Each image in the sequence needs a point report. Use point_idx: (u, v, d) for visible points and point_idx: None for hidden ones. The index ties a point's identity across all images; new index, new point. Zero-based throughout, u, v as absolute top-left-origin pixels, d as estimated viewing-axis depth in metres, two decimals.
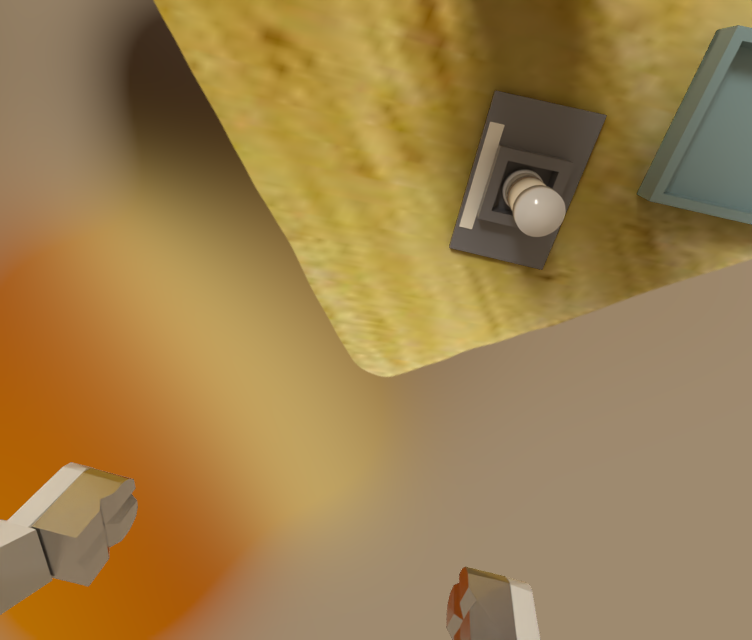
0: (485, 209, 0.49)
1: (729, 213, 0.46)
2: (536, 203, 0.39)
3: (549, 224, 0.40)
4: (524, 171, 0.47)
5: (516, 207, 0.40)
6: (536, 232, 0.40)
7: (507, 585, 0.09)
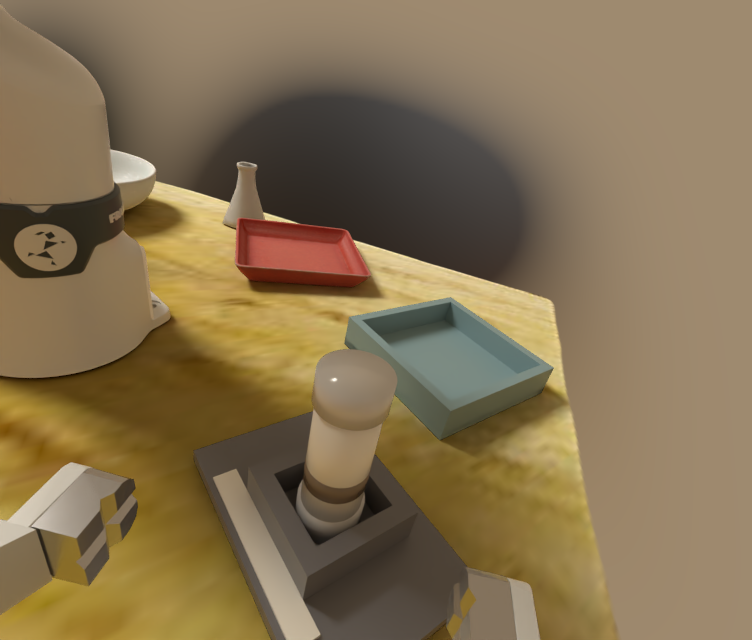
0: (305, 552, 0.24)
1: (505, 382, 0.42)
2: (339, 367, 0.23)
3: (382, 376, 0.23)
4: None
5: (320, 385, 0.22)
6: (380, 391, 0.22)
7: (507, 584, 0.09)
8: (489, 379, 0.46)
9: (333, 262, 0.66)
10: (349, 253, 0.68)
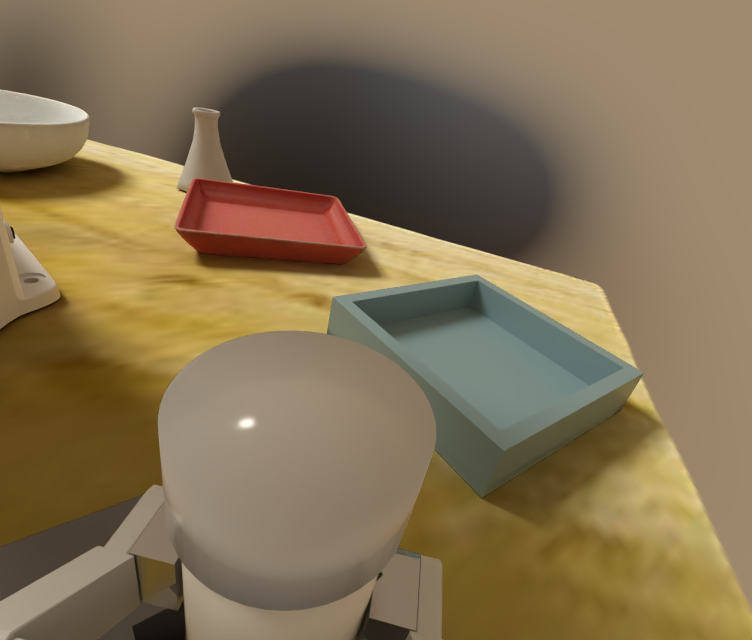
0: None
1: (581, 397, 0.26)
2: (252, 383, 0.07)
3: (387, 412, 0.07)
4: None
5: (162, 453, 0.06)
6: (383, 472, 0.06)
7: (417, 560, 0.09)
8: (545, 391, 0.31)
9: (317, 234, 0.50)
10: (339, 223, 0.52)
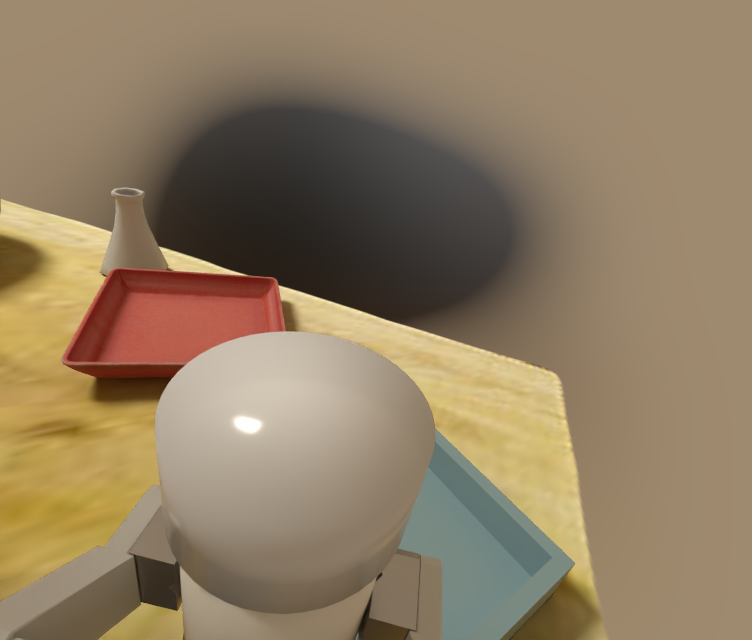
0: None
1: (490, 630, 0.22)
2: (250, 384, 0.07)
3: (386, 414, 0.07)
4: None
5: (158, 455, 0.06)
6: (382, 474, 0.06)
7: (417, 560, 0.09)
8: (464, 582, 0.27)
9: (246, 332, 0.46)
10: (272, 315, 0.48)
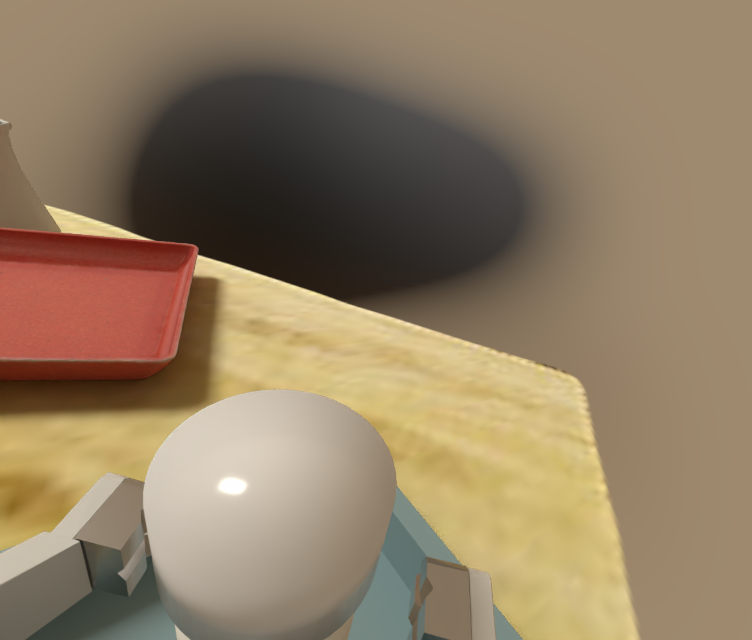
0: None
1: None
2: (230, 449, 0.08)
3: (351, 472, 0.08)
4: None
5: (147, 525, 0.07)
6: (343, 536, 0.07)
7: (466, 573, 0.09)
8: None
9: (136, 315, 0.32)
10: (180, 293, 0.34)
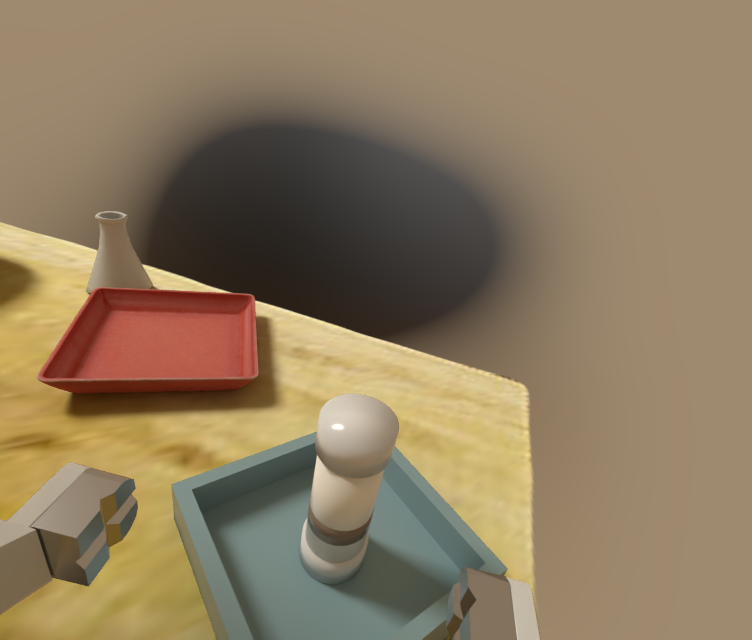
0: None
1: (413, 631, 0.23)
2: (342, 414, 0.24)
3: (383, 423, 0.24)
4: None
5: (323, 434, 0.22)
6: (382, 439, 0.22)
7: (507, 584, 0.09)
8: (402, 587, 0.28)
9: (221, 347, 0.48)
10: (247, 331, 0.50)
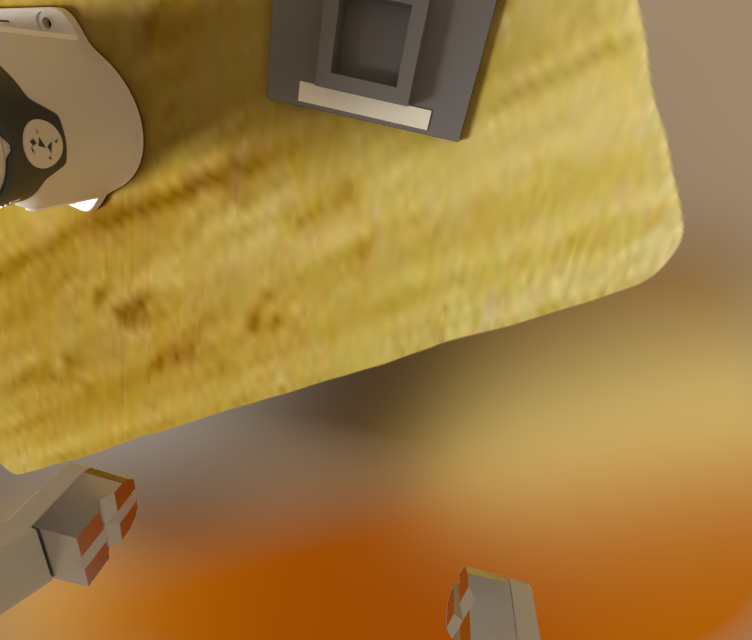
0: (394, 96, 0.36)
1: None
2: None
3: None
4: None
5: None
6: None
7: (507, 584, 0.09)
8: None
9: None
10: None
